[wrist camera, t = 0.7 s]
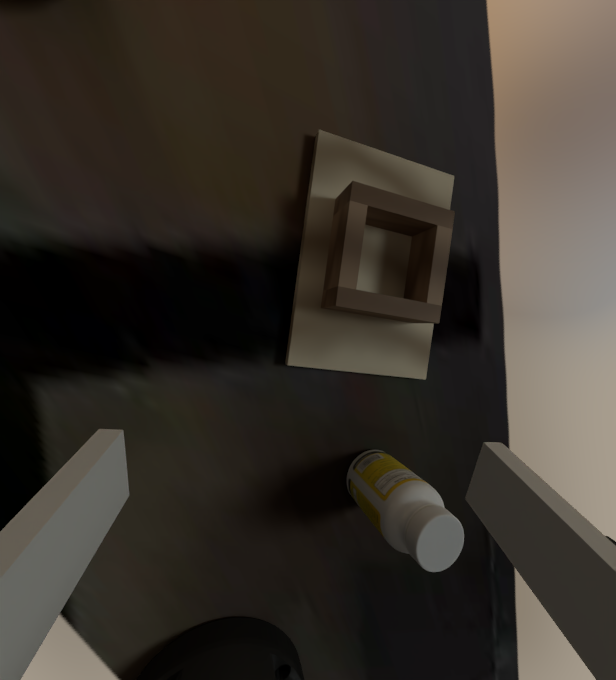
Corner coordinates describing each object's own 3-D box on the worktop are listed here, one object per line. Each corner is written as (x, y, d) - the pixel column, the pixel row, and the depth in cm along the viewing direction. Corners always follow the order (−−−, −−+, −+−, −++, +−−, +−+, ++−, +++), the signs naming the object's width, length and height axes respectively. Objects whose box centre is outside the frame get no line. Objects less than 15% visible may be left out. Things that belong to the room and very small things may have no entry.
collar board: (419, 377, 31) (452, 386, 26) (285, 363, 27) (297, 371, 22) (446, 180, 31) (484, 157, 26) (315, 136, 26) (334, 100, 22)
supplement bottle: (382, 507, 30) (455, 590, 21) (336, 494, 29) (393, 576, 20) (402, 456, 31) (483, 515, 21) (358, 440, 29) (424, 496, 20)
